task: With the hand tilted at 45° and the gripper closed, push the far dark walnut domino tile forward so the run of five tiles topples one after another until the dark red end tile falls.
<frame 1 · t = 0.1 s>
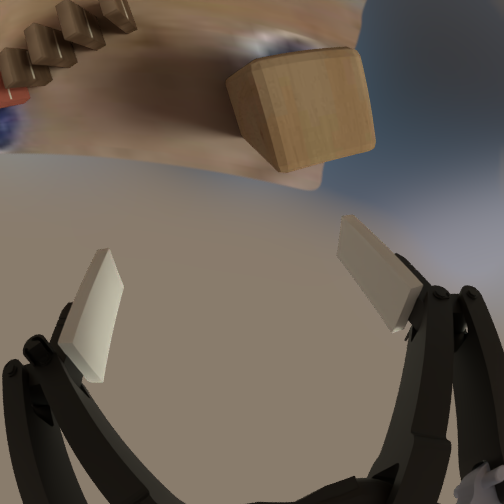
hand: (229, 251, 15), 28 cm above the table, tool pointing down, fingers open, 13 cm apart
tile 4: (44, 68, 24), on the table
wooden block: (265, 100, 35), on the table
tile 2: (96, 33, 24), on the table
tile 3: (68, 50, 24), on the table
tile 1: (127, 17, 24), on the table
end tile: (22, 86, 24), on the table
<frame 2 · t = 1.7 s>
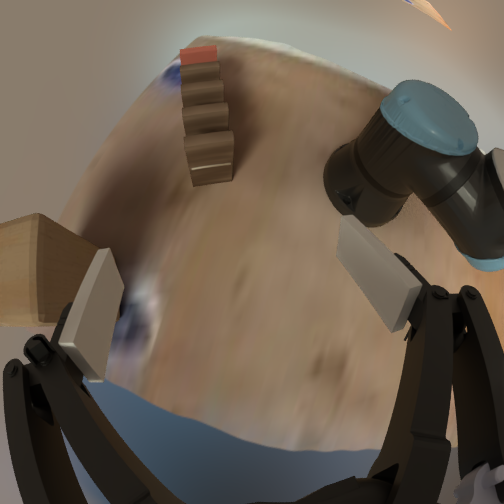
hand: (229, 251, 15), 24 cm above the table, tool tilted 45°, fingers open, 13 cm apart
tile 4: (202, 109, 44), on the table
wooden block: (91, 291, 36), on the table
tile 2: (208, 152, 42), on the table
tile 3: (205, 129, 43), on the table
tile 1: (211, 179, 41), on the table
end tile: (200, 92, 45), on the table
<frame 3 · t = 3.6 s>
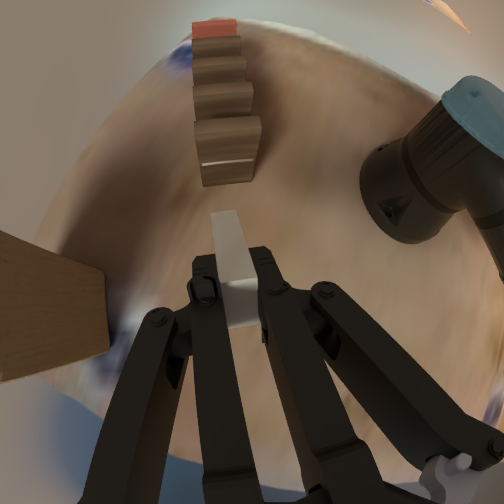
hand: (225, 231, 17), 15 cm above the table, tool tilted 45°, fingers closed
tile 4: (216, 95, 36), on the table
wooden block: (77, 312, 28), on the table
tile 2: (222, 145, 34), on the table
tile 3: (219, 118, 35), on the table
tile 1: (226, 178, 33), on the table
end tile: (214, 75, 37), on the table
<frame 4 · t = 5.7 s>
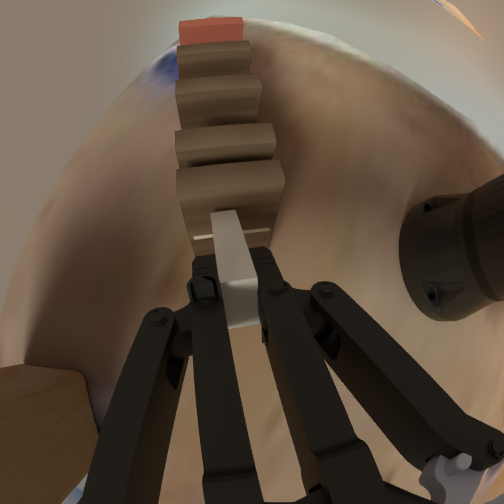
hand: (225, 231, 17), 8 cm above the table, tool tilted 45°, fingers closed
tile 4: (214, 123, 28), on the table
wooden block: (61, 408, 20), on the table
tile 2: (223, 203, 26), on the table
tile 3: (218, 159, 27), on the table
tile 1: (230, 254, 25), on the table, tilted 13°
end tile: (211, 93, 29), on the table
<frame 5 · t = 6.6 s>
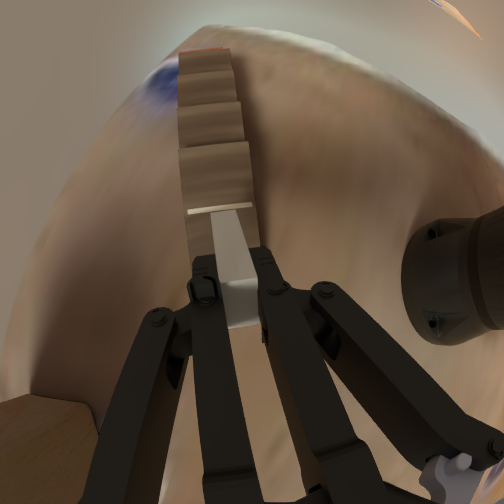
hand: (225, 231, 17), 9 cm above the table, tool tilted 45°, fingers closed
tile 4: (210, 133, 27), point 1 cm above the table, tilted 71°, touching end tile, tile 3
wooden block: (68, 435, 19), on the table
tile 2: (219, 217, 25), point 1 cm above the table, tilted 70°, touching tile 1, tile 3
tile 3: (213, 169, 26), point 1 cm above the table, tilted 70°, touching tile 2, tile 4
tile 1: (227, 271, 24), point 1 cm above the table, tilted 70°, touching tile 2
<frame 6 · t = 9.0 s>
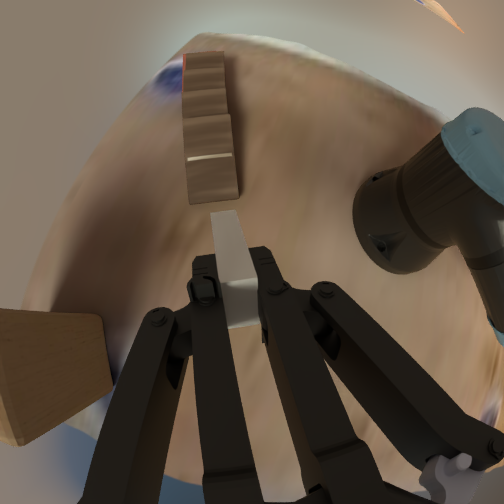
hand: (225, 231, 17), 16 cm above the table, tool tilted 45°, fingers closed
tile 4: (205, 111, 36), point 1 cm above the table, tilted 70°, touching tile 3
wooden block: (78, 353, 28), on the table
tile 2: (209, 165, 34), point 1 cm above the table, tilted 70°, touching tile 1, tile 3
tile 3: (205, 135, 35), point 1 cm above the table, tilted 70°, touching tile 2, tile 4
tile 1: (214, 201, 33), point 1 cm above the table, tilted 71°, touching tile 2
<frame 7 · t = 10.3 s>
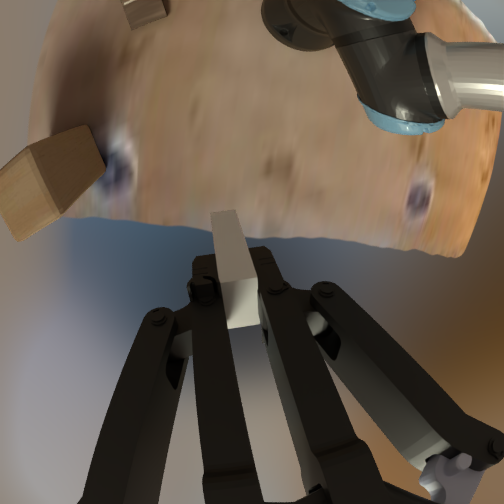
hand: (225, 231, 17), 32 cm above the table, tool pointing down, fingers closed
wooden block: (77, 158, 39), on the table
tile 1: (149, 22, 29), point 1 cm above the table, tilted 71°, touching tile 2
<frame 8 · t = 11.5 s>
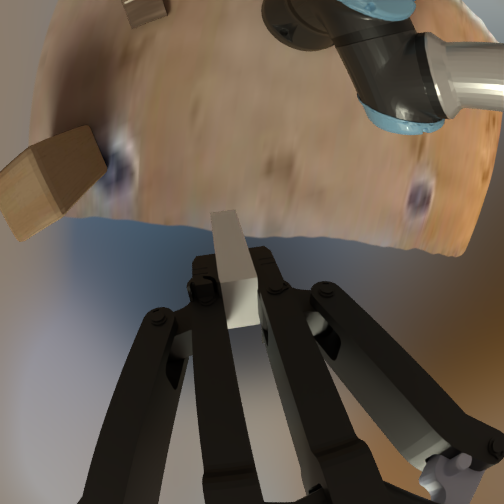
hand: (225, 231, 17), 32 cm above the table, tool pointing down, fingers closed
wooden block: (78, 158, 39), on the table
tile 1: (149, 21, 29), point 1 cm above the table, tilted 70°, touching tile 2
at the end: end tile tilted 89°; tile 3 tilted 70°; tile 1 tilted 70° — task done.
